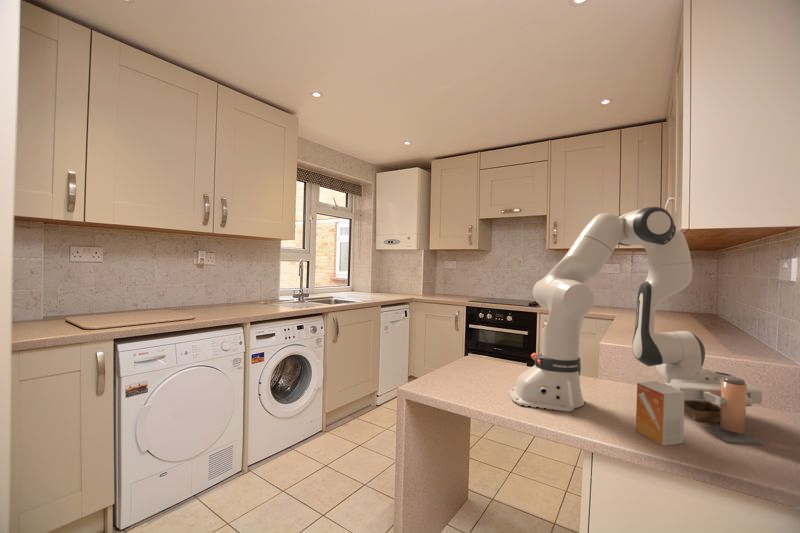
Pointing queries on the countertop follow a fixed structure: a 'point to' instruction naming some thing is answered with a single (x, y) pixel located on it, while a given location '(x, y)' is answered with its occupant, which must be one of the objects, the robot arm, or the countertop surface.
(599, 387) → the countertop surface
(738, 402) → the jar
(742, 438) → the mat
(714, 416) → the brown wooden square tray
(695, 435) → the countertop surface
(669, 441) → the small box
